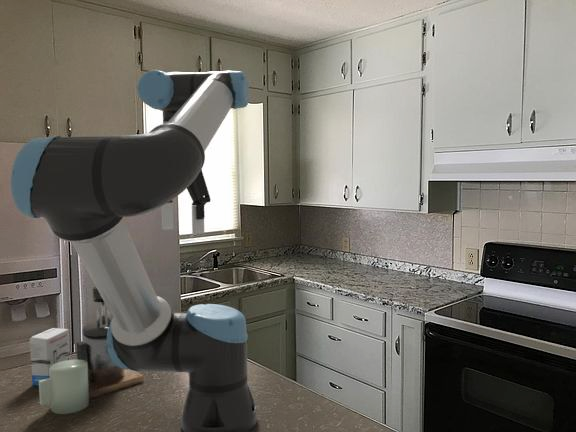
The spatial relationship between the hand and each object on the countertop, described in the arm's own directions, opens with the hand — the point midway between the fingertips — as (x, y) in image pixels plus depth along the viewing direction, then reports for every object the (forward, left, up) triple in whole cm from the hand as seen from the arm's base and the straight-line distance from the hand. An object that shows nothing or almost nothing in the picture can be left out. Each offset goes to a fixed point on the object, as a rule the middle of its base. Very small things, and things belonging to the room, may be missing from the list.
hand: (182, 231), depth 117 cm
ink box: (+25, +23, -37) cm, 50 cm away
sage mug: (+7, +26, -37) cm, 46 cm away
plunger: (+14, +14, -22) cm, 30 cm away
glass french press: (+14, +14, -37) cm, 42 cm away
